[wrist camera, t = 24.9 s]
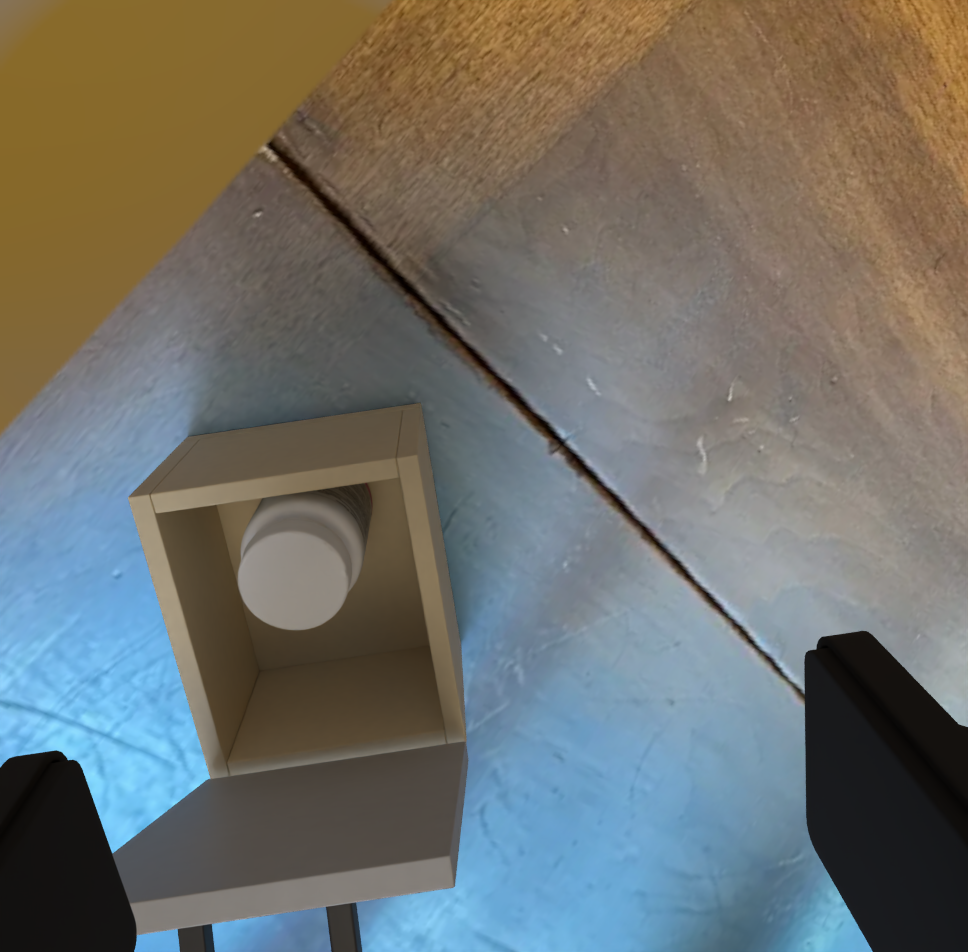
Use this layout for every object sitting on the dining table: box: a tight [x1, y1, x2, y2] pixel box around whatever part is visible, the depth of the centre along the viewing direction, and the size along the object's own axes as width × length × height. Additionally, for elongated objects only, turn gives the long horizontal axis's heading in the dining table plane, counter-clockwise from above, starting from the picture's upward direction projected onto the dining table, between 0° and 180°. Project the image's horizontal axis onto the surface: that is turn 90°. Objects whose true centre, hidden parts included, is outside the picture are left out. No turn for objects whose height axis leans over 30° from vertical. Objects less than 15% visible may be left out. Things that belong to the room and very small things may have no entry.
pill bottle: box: [238, 483, 373, 630], centre depth 35 cm, size 5×5×8 cm
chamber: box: [128, 403, 466, 779], centre depth 37 cm, size 13×11×8 cm
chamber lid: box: [112, 741, 468, 952], centre depth 28 cm, size 13×11×5 cm
